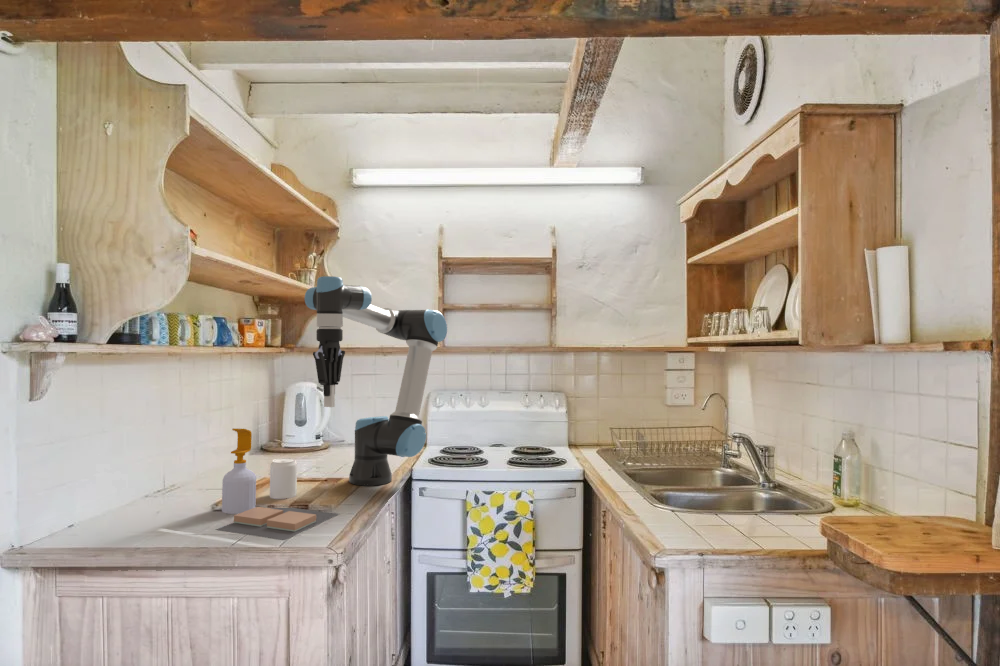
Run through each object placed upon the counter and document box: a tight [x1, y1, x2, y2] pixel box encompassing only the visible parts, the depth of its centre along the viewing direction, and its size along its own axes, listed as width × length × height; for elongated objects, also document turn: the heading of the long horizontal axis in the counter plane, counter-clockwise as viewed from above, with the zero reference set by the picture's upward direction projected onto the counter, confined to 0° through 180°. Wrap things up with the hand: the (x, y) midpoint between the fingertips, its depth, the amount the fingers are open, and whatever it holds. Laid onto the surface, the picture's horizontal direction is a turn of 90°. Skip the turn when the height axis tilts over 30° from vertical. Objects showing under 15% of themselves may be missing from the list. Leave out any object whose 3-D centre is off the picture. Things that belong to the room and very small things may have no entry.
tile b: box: [233, 506, 283, 527], centre depth 162 cm, size 2×9×9 cm
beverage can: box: [269, 457, 298, 500], centre depth 188 cm, size 8×8×12 cm
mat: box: [215, 507, 340, 541], centre depth 162 cm, size 24×22×1 cm
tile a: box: [267, 511, 316, 532], centre depth 159 cm, size 2×9×9 cm
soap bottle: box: [221, 428, 257, 515], centre depth 173 cm, size 9×9×25 cm
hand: (329, 406), depth 175 cm, fingers closed
